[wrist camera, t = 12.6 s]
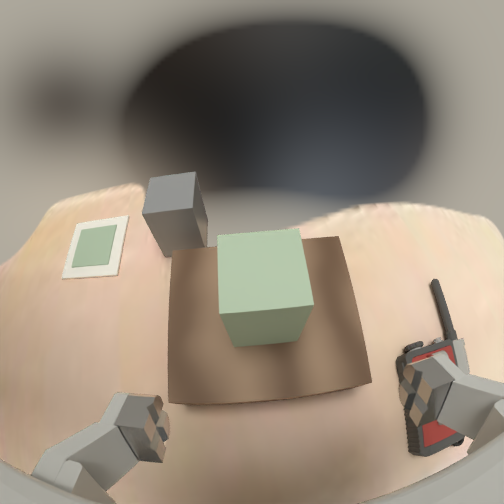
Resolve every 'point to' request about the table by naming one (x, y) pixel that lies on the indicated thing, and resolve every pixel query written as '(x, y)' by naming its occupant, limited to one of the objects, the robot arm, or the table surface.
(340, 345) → the walnut plinth
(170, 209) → the grey block
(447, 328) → the walkie-talkie
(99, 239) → the swatch
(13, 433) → the table surface
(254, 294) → the sage block
